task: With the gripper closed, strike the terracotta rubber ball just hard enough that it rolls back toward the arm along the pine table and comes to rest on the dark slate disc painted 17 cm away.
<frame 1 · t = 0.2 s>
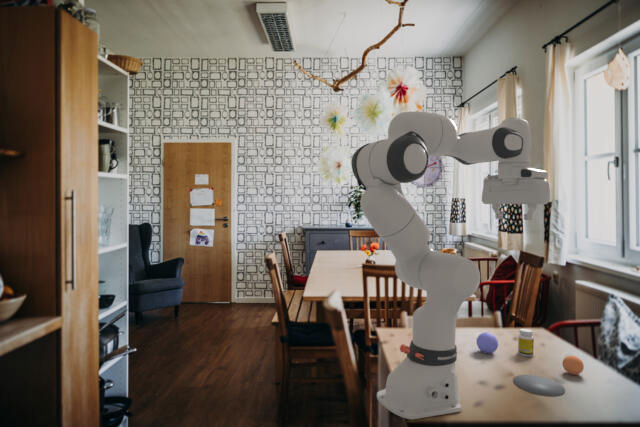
hand: (513, 219, 119), 47 cm above the table, tool pointing down, fingers open, 8 cm apart
ball: (572, 365, 121), on the table
slate disc: (538, 385, 113), on the table
supplement bottle: (525, 354, 137), on the table
sphere: (487, 353, 138), on the table
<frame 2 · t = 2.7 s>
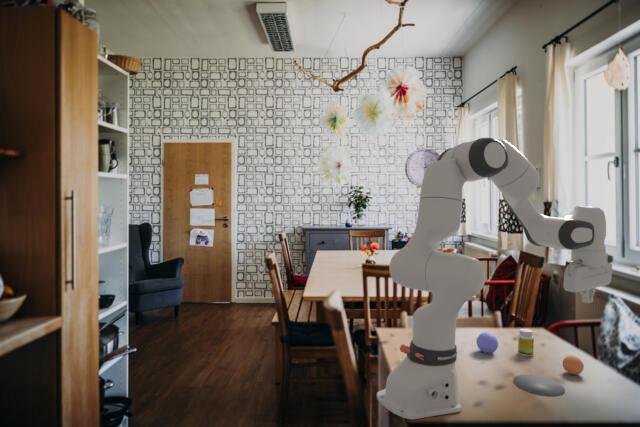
hand: (587, 302, 123), 22 cm above the table, tool pointing down, fingers closed
nothing on the table moved.
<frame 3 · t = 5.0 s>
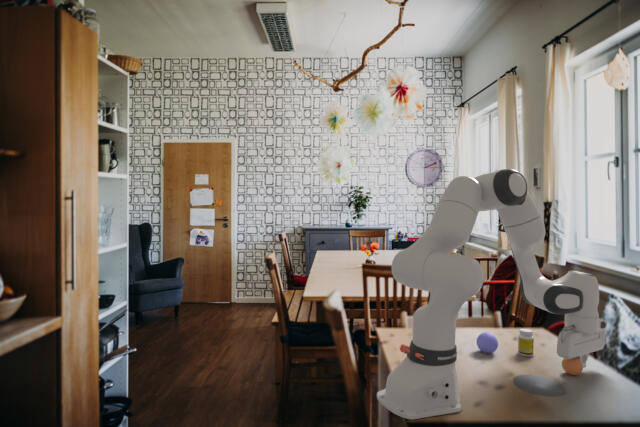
hand: (580, 367, 123), 1 cm above the table, tool pointing down, fingers closed
ball: (572, 365, 121), on the table, touching gripper
everything else where it was.
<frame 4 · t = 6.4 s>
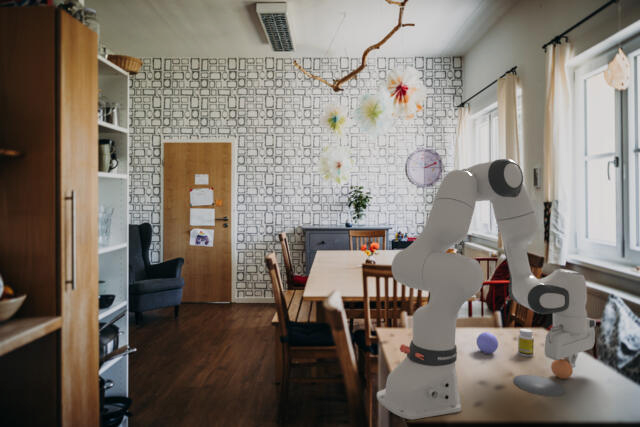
hand: (569, 367, 120), 2 cm above the table, tool pointing down, fingers closed
ball: (561, 368, 118), on the table, touching gripper
everything else where it was.
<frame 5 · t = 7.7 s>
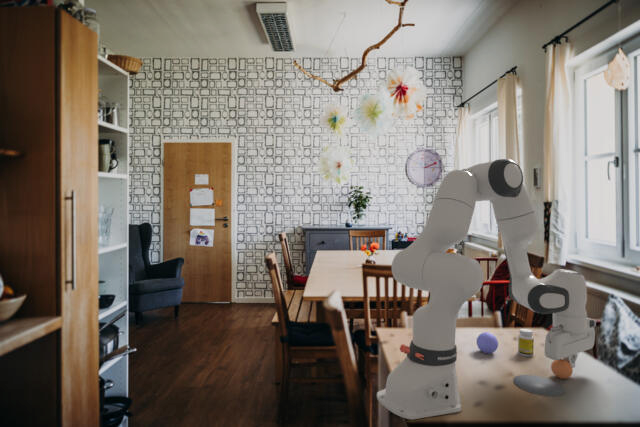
hand: (569, 367, 120), 2 cm above the table, tool pointing down, fingers closed
nothing on the table moved.
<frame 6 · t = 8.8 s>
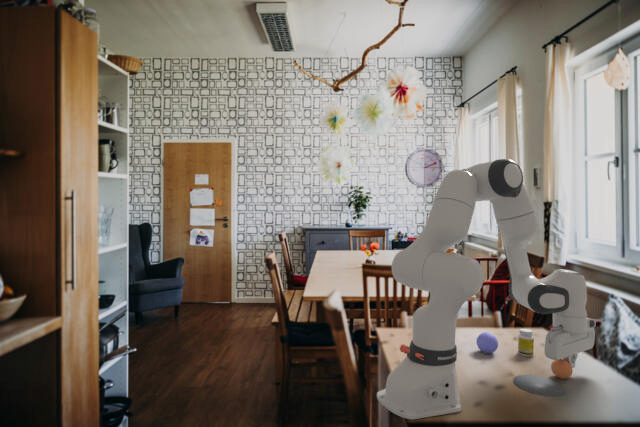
hand: (569, 367, 120), 2 cm above the table, tool pointing down, fingers closed
nothing on the table moved.
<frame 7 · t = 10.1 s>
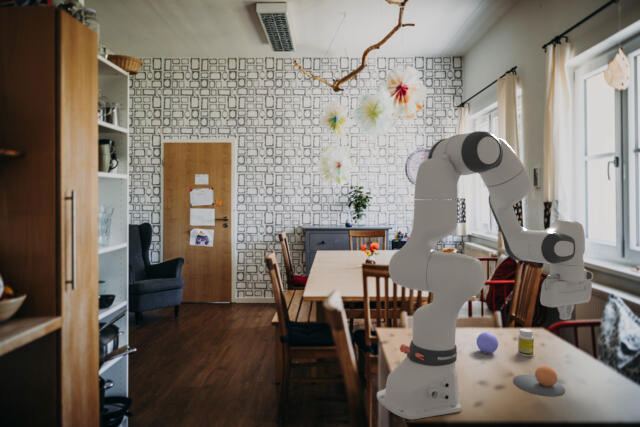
hand: (565, 319, 120), 17 cm above the table, tool pointing down, fingers closed
ball: (546, 376, 113), on the table
everything else where it was.
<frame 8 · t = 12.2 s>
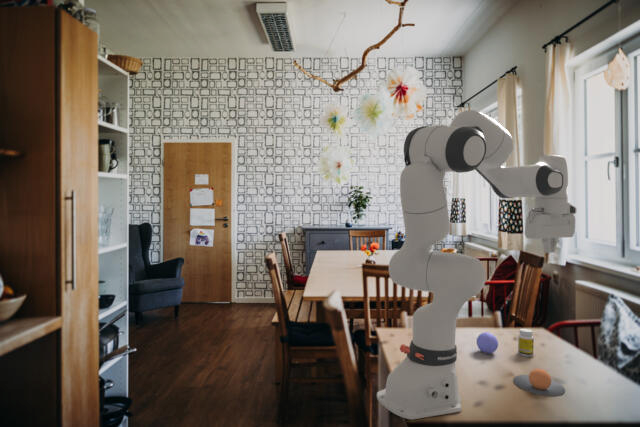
hand: (549, 252, 123), 37 cm above the table, tool pointing down, fingers closed
ball: (539, 379, 111), on the table
everything else where it was.
at the end: ball 2.4 cm from the slate disc (horizontally); ball at rest at the end (0.0 cm/s); ball moved 18.9 cm from its start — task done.
